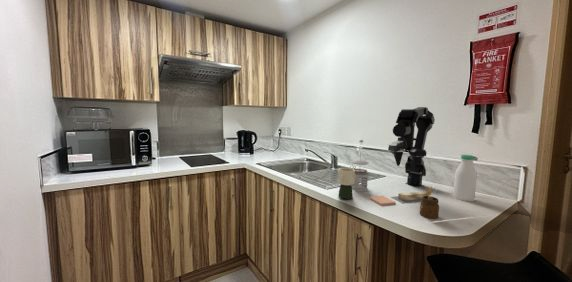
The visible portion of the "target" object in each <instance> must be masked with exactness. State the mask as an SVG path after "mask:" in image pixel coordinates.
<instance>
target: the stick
mask: <svg viewBox="0 0 572 282" xmlns="http://www.w3.org/2000/svg"><path fill="white" fill-rule="evenodd" d="M423 196H428V195H427V194H426V191H415V192H413V191H412V192H402V193H401V192H400V193H398V199H400V200H402V201H404V200H416V199H422V197H423Z"/></svg>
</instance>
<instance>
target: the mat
mask: <svg viewBox="0 0 572 282" xmlns="http://www.w3.org/2000/svg"><path fill="white" fill-rule="evenodd" d="M390 199H392V200H394V201H397V202H398V203H400V204H412V203H415V204H416V203H421V201H422V199H416V200H404V201H402V200H400V199H398V196H390Z"/></svg>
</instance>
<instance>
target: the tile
mask: <svg viewBox="0 0 572 282" xmlns="http://www.w3.org/2000/svg"><path fill="white" fill-rule="evenodd" d="M368 199H369V200H370V201H372V202H374V203H376V204H378V205H379V206H381V207H382V206H391V205H396V200H394V199H392V198H388V197H387V196H385V195H375V196H373V195H372V196H369V197H368Z"/></svg>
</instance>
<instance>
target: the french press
mask: <svg viewBox="0 0 572 282" xmlns="http://www.w3.org/2000/svg"><path fill="white" fill-rule="evenodd" d="M359 143H360V144H362V143H364V140H363V139H359ZM359 157H360V158H357V159H354V160H352V161H351V163H352V164H353V165H351V166H350V167H349V168H351V169H354V170H355V182H354V185H351V186H352V191H356V192H357V191H358V192H367V191H369V188H368V182H369V181H368V180H369V179H368V178H369V173H368V170H367V169H365V168H356V166H357V165H359V166H365V165H366V166H367V165H369V162H368V161H367V160H366V159H362V152H360V155H359ZM354 165H355V166H354Z"/></svg>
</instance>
